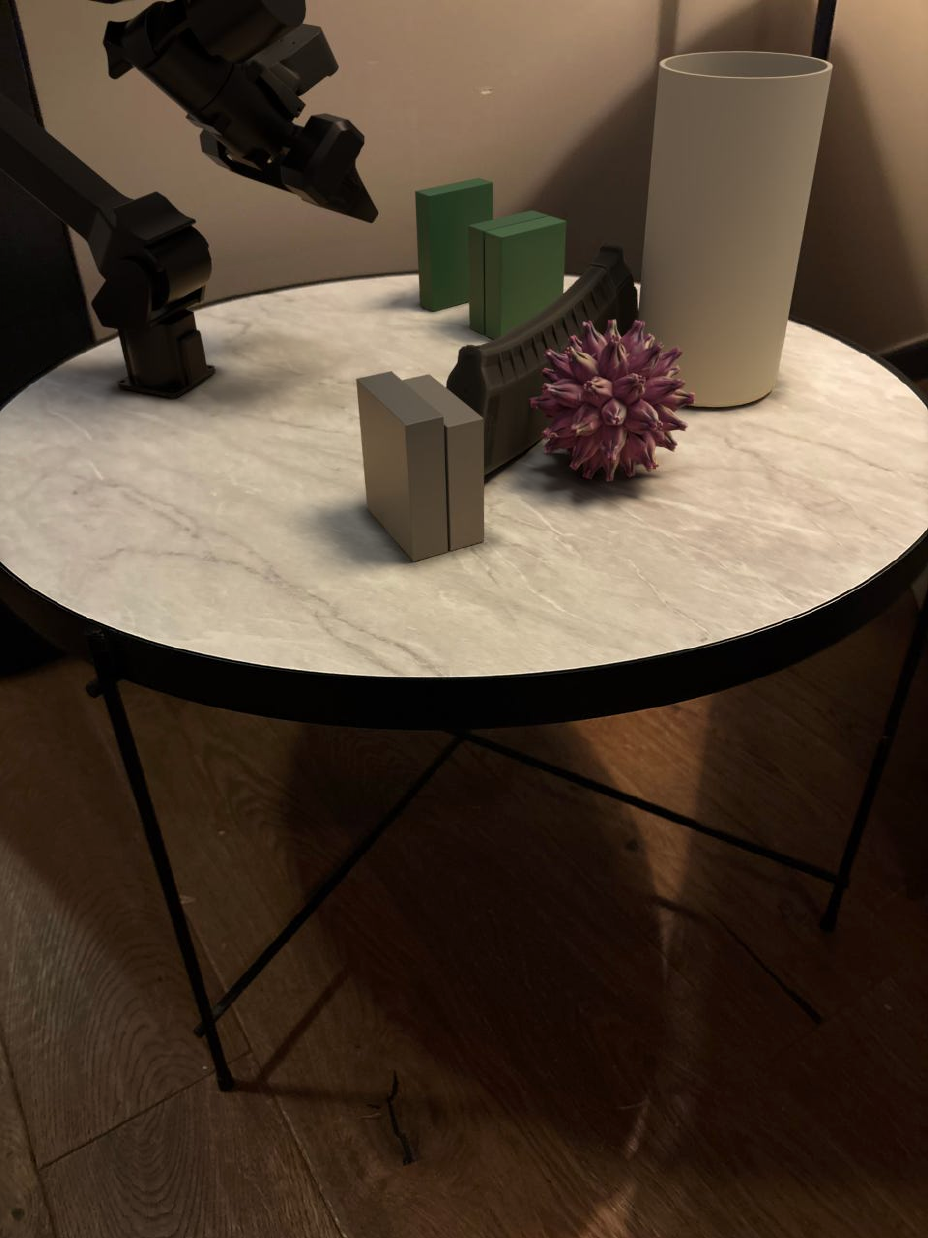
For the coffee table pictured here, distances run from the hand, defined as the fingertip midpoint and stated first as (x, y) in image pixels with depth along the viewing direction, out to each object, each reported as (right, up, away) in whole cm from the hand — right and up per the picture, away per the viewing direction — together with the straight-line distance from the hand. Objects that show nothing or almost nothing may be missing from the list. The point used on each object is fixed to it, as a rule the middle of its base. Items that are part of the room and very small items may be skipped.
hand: (346, 206), depth 88 cm
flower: (+21, -25, -11) cm, 34 cm away
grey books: (+7, -29, -17) cm, 34 cm away
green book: (+10, -2, +20) cm, 22 cm away
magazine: (+17, -19, -3) cm, 26 cm away
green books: (+15, -6, +14) cm, 22 cm away
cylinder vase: (+32, -15, +2) cm, 35 cm away
